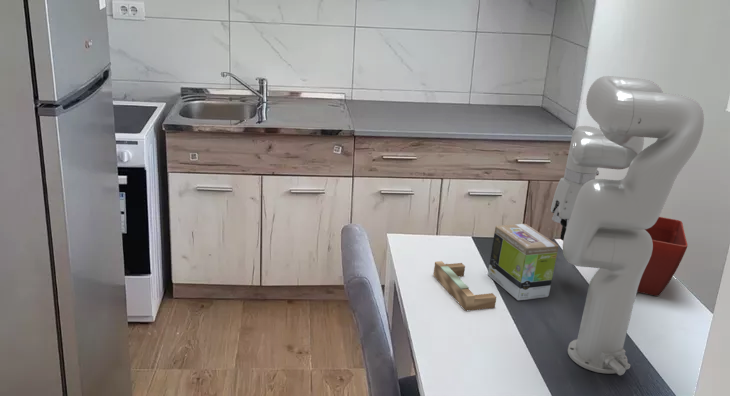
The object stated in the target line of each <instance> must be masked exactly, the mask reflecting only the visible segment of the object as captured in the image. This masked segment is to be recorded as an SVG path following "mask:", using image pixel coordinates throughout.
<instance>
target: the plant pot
mask: <svg viewBox="0 0 730 396" xmlns="http://www.w3.org/2000/svg"><path fill="white" fill-rule="evenodd" d="M644 230H646V231H647V232H648V233H649V234H650V236H651V238H652V242H653V250H652V254H651V257H650V260H649V262H648V264H647V266H646V268H645V270H644V272H643V275H642V277H641V280H640V283H639V286H638V290H637V293H641V294H645V295H650V296H655V297H657V296H661V294H662V293H663V291H664V290H665V289H666V287H667V286H668V285H669V283H670V281H672V278H673V277H674V275H675V273H676V271H677V270H678V268H679V267H680V265H681V264H680V263H682V260H683V258H684V255H685V253H686V252H687V248H688V247H689V246H688V242H687V238H686V234H685V229H684V225H683V222H682V220H679V219H674V218H667V217H663V216H659V218H658V220H657V221H656V223H655V224H654V225H653V226H652V227H651V228H648V229H644Z"/></svg>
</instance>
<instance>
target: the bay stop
mask: <svg viewBox="0 0 730 396" xmlns="http://www.w3.org/2000/svg"><path fill="white" fill-rule="evenodd" d="M465 270H466V265H465V264H463V262H455V263H445V262H443V261H442V260H440V261H435V262H434V268H433V277H434V278H435V279H436V280H437V281H438V282H439V283H440V285H442V286H443V288H444V290H446V291H447V292H448V293H449V294H450V296H451V297H452V296H453V297H454V298H455V299H456V300H457V301H458V302H459V303H458V302H457V301H456V300H455V299H454V298H453V297H452V298H453V299H454V300H455V301H456V302H457V303H458V304H459V305H461V306H462V307H463V308H464V309H465V310H466V311H465V310H464V309H463V308H462V307H461V306H460V307H461V308H462V309H463V310H464V311H465V312H468V311H467V310H470V311H477V309H478V311H479V309H480V310H486V309H487V310H488V309H495V308H496V304H497V303H496V301H497V296H496V295H495V294H494V293H493V292H491V293H482V294H479V293H478V294H474V293H473V292H472V291H471V290H470V288H469V286H468V285H467V283H465V282H464V281H463V280H462V278H460V277H459V276H462V277H464V276H465Z"/></svg>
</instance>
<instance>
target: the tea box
mask: <svg viewBox="0 0 730 396" xmlns="http://www.w3.org/2000/svg"><path fill="white" fill-rule="evenodd" d="M492 239H493V240H492V245H491V252H490V260H489V263H488V264H489V265H488V272H487V275H488V276H489V277H490V278H491V279H493V281H495V282H496V283H497V284H498V285H499V286H500V287H501V288H502V289H504V290H505V291H506V292H507V293H508V294H510V295H511V296H512V297H513V298H514V299H515V300H516V301H527V300H534V299H543V298H548V297H549V296H550V291H551V285H552V281H553V277H554V271H555V266H556V262H557V261H556V260H557V256H558V250H559V244H557V243H556V242H554V241H553V240H551V239H550V238H548V237H547V236H545V235H544V234H542V233H541V232H539V231H538V230H536V229H534V228H533V227H531V226H530V225H529V224H527V223H517V224H506V225H505V224H503V225H495V227H494V233H493V238H492Z"/></svg>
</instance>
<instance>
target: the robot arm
mask: <svg viewBox="0 0 730 396" xmlns="http://www.w3.org/2000/svg"><path fill="white" fill-rule="evenodd" d="M585 102H586V103H585V105H586V110H587V112H588V114H589V116H590V117H591V118H592V120H593V121H595V123H596V124H598V125H599V128H597V127H594V126H591V125H590V126H588V125H581V126H580V125H579V126H576V127H575V128H574V129H573V130H572V134H571V139H570V144H569V149H568V155H567V159H566V164H565V170H564V175H563V177H561V178H560V179H559V181H558V183H557V185H556V189H555V191H554V194H553V199H552V202H551V206H550V212H551V213H552V214H553V215H552V217H551V220H552V221H553V222H555V223H558V224H560V225H561V226H562V227H561V230H560V231H561V232H560V238H559V239H561V241H562V254H563V257H564V260H566V262H568V263H569V264H571V265H572V266H575V267H581V268H595V269H597V271H595V273H594V275H593V276H592V277H591V279H590V281H589V284H588V288H587V294H586V298H585V301H584V302H585V303H584V307H583V312H582V316H581V321H580V326H579V331H578V334H577V338H575V339H573V340H571V341H570V342H569V343H568V346H567V354H568V356H569V358H570V359H571V360H572V361H573V362H574V363H576V365H578V366H580V367H581V368H584V369H585V370H589V371H590V372H591V371H592V372H595V373H599V374H608V375H609V374H612V375H613V374H617V375H618V376H622V375H624V374H625V372H626V371H627V370H629V369H630V368H631V364H630V363H629V362H628V357H627V355H626V352H627V351H626V350H625V349H624V345H625V342H626V336H627V332H628V329H629V324H630V320H631V315H632V312H633V309H634V304H635V301H636V297H637V294H638V292H637V290H638V286H639V283H640V280H641V277H642V275H643V272H644V270H645V268H646V266H647V264H648V262H649V260H650V257H651V254H652V250H653V242H652V238H651V236H650V234H649V233H648V232H647V231H646V230H644V229H648V228H651V227H652V226H653V225H654V224H655V223H656V221H657V220H658V218H659V217H661V213H662V211H663V209H664V207H665V204H666V202H667V200H668V197H669V195H670V193H671V190H672V188H673V186H674V184H675V181H676V179H677V177H678V176H679V174H680V172H681V171H682V169H683V168H684V167H685V165H687V163H688V162H689V160H690V159H691V158H692V156H693V155H694V153H695V151H696V150H697V148H698V145H699V143H700V140H701V139H702V134H703V131H704V125H705V124H704V123H705V116H704V115H705V114H704V110H703V108H702V106H701V105H700V103H699V102H697V101H696V100H694V98H691V97H688V96H685V95H680V94H676V93H667V92H664V91H663V90H662V88H661V87H660V86H659V85H658V84H657V83H655V82H654V81H652V80H650V79H646V78H638V77H625V76H623V77H622V76H614V75H603V76H601V77H599V78H597V79H595V81H593V83H592V84H591V85H590V87H589V88H588V91H587V95H586V101H585ZM645 138H648V139H649V138H650V139H651V138H653V139H656V141H655V142H653V143H652V144H650V145H649V146H646V147H645V148H644V145H645V143H644V142H645ZM598 168H599V169H606V170H607V169H608V170H617V171H618V170H624V169H627V168H628V170H627V172H626V175H625V176H624V177H623V179H622V178H621V179H605V178H604V179H603V178H597V176H599V175H600V171H599V170H598ZM596 178H597V179H596Z"/></svg>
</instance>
